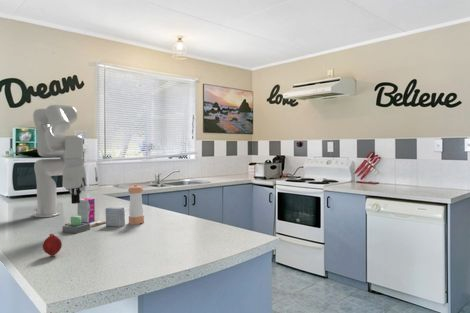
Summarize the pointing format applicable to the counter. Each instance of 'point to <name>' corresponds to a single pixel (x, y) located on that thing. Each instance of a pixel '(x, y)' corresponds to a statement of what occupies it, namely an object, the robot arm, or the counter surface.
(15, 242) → the counter surface
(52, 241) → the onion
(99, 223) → the wooden picture frame
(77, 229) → the button box
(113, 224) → the medicine box
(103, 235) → the counter surface
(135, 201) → the pepper shaker
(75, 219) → the button
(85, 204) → the supplement box
